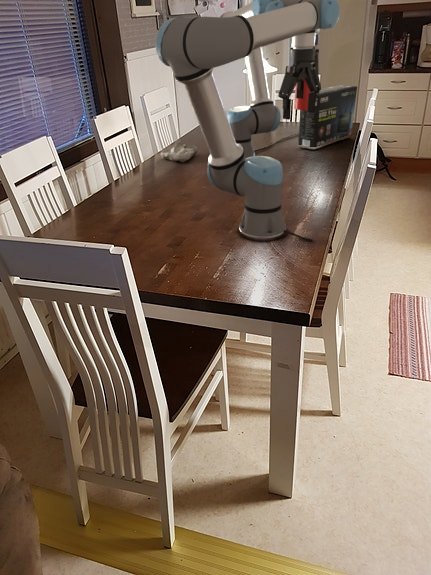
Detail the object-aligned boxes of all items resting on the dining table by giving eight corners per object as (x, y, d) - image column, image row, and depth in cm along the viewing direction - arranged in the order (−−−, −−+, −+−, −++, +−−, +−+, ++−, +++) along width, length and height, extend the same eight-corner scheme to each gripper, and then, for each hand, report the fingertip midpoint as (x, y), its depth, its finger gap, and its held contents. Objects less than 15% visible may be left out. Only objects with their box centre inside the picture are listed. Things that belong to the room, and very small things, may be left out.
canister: (290, 108, 192) (291, 77, 186) (304, 105, 196) (306, 75, 190) (304, 111, 186) (306, 79, 180) (319, 108, 190) (321, 77, 184)
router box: (314, 151, 231) (318, 94, 217) (296, 148, 237) (299, 92, 224) (352, 138, 251) (358, 85, 238) (335, 135, 258) (340, 83, 245)
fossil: (184, 156, 217) (163, 136, 220) (174, 174, 223) (154, 154, 227) (205, 153, 231) (186, 134, 234) (195, 171, 237) (176, 152, 240)
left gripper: (304, 35, 168) (300, 101, 180) (330, 32, 182) (325, 93, 194) (286, 35, 172) (283, 99, 184) (313, 32, 186) (309, 92, 198)
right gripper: (316, 45, 160) (312, 109, 171) (268, 50, 146) (267, 120, 157) (335, 45, 155) (329, 111, 166) (286, 51, 141) (283, 123, 152)
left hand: (305, 96), depth 189 cm, fingers closed on canister, 8 cm apart
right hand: (299, 115), depth 161 cm, fingers open, 13 cm apart
